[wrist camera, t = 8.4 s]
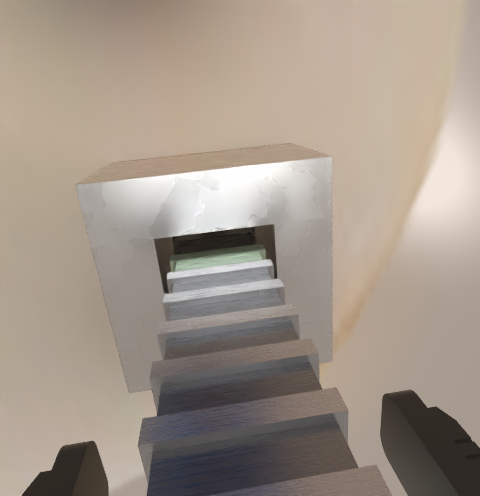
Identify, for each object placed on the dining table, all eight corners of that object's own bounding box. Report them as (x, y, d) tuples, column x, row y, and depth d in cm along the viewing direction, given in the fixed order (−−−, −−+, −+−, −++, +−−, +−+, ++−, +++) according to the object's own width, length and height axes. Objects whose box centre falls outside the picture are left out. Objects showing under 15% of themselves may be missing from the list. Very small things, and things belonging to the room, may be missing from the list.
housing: (297, 304, 29) (332, 369, 22) (147, 325, 28) (131, 401, 21) (290, 143, 25) (332, 156, 17) (112, 162, 24) (75, 185, 16)
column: (260, 298, 22) (399, 695, 7) (185, 308, 22) (164, 749, 7) (254, 228, 20) (418, 547, 5) (173, 237, 20) (109, 608, 5)
